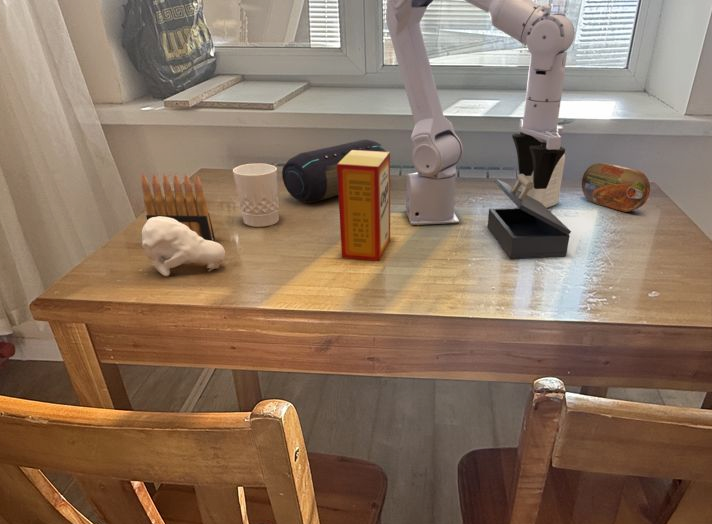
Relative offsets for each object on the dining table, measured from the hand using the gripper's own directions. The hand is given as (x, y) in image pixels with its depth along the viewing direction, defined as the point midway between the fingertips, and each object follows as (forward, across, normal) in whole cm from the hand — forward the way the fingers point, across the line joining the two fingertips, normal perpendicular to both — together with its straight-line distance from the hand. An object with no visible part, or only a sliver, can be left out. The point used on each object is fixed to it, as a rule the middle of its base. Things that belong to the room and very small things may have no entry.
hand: (532, 181), depth 102 cm
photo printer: (+10, +16, -8) cm, 21 cm away
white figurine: (+11, -6, +59) cm, 60 cm away
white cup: (+11, +15, +49) cm, 52 cm away
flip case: (+10, -2, +1) cm, 11 cm away
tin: (+10, +15, -24) cm, 30 cm away
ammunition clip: (+11, +6, +62) cm, 63 cm away
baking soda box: (+11, -2, +30) cm, 32 cm away
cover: (+4, -2, +1) cm, 4 cm away
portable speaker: (+11, +30, +32) cm, 46 cm away
